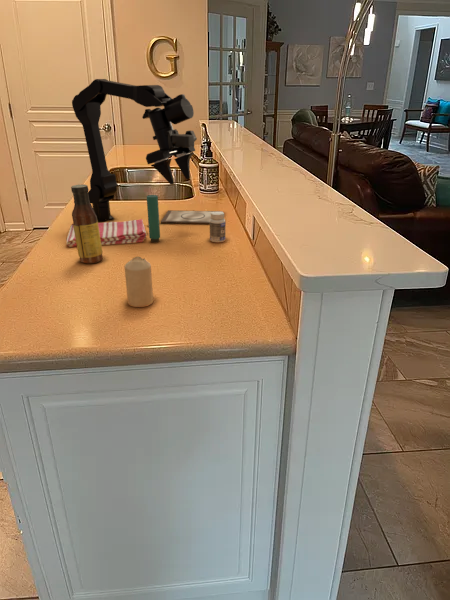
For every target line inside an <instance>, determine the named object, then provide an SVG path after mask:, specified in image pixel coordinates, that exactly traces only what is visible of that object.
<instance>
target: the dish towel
mask: <svg viewBox="0 0 450 600" xmlns="http://www.w3.org/2000/svg"><path fill="white" fill-rule="evenodd" d="M98 226H99V233H100V239H101V246H106V245H107V246H110V245H122V244H123V245H125V244H137V243H144V240H146V238H147V235H148V234H147V232H146V227H145V224H144V220H143V218H140V219H132V220H124V221H109V222H107V221H105V222H98ZM65 244H66V246H67V247H69V248H72V247H77V244H76V238H75V232H74V227H73V223H72V224H71V225H70V228H69V231H68V233H67V237H66V243H65Z"/></svg>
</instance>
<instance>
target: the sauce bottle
mask: <svg viewBox="0 0 450 600" xmlns="http://www.w3.org/2000/svg"><path fill="white" fill-rule="evenodd" d="M70 188H71V193H72V195H73V196H72V197H73V203H74V206H73V209H72V211H71V218H72V224H73V227H74V232H75V238H76V244H77V246H76V249H77V255H78V257H79V261H80V263H84V264H96V263H99V262H100V261H102V260H103V245H101V239H100V233H99V226H98V223H99V221H98V220H97V216H96V214H95V212H94V210H93V206H92V203H90V200H89V195H88V192H89V186H88V185H87V184H74V185H71V186H70Z"/></svg>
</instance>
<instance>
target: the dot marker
mask: <svg viewBox="0 0 450 600" xmlns="http://www.w3.org/2000/svg"><path fill="white" fill-rule="evenodd" d="M146 206H147V207H146V208H147V222H148V223H147V224H148V236H149V237H148V238H149V239H150V243H157V244H158V243H159V242H160V238H161V228H160V227H161V225H160V211H159V196H158V195H157V194H148V195H146Z"/></svg>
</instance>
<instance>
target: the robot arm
mask: <svg viewBox="0 0 450 600" xmlns="http://www.w3.org/2000/svg"><path fill="white" fill-rule="evenodd" d="M107 95H108V96H113V97H118V98H122V99H128V100H131V101H134V102H135V103H136V104H138V105H140V106H143V107H145V109H144V113H143V115H142V117H141V119H143V120H147V119H149V121H150V124H151V127H152V130H153V133H154V135H153V136H152V140H153V141H156V142H157V146H158V148H159V149H157V150H154V151H152V152H149V153H147V154H146V156H145V161H146V163H147V165H150V167H153V168H154V170H156V171H157V172H158V173H159V174H160V175H161V176H162V177H163V178H164V179H165V180H166V182H168V184H169V185H174V184H175V182H174V177H173V172H172V168H171V163H172V159H173V158H171V157H174V161H175V163H176V165H177V166H178V168H179V169H180V171H181V173H182V174H183V176H184V177H185V179H186V180H189V179H190V178H191V177H190V176H191V175H190V174H191V173H190V171H191V170H190V169H191V167H190V166H191V165H190V162H191V161H190V160H191V158H192V156H194V153H195V152H196V149H195V142H196V141H197V140H198V137H197V136H196V134H195V132H194V130H186V131H185V133H179V130H177V129H176V128H175V129H174V126H173V125H178V124H181V123H183V122H185V121H188V120H190V119H193V117H194V113H195V111H194V106H193V105H192V103H191V102H190V101H189V100H188V99H187V97H186V95H185V94H184V93H182V94H178V95H176V96H175V97H173V98H172V97H171V96H170V95H169V94H167V93H166V92H165V90H164V87H163V86H161V85H159V84H143V85H141V84H139V85H135V84H129V83H124V82H118V81H114V80H108V79H106V78H95V79H94V80H92V81H91V83H90V84H88V85H87V86H86V87H84V88H83V89H82V90H81V91H79V93H78V94H75V95H74V96H73V99H72V100H71V104H72V105H71V106H72V109H73V112H74V115H75V117H76V119H77V120H78V121H79V123H80V124H81V125H82V129H83V134H84V138H85V143H86V148H87V154H88V157H89V163H90V166H91V175H90V179H89V185H90V189H89V190H88V195H89V200H90V203H91V205H92V208H93V210H94V212H95V214H96V216H97V220H98V222H104V221H105V222H106V221H111V220H115V217H113V216H112V215H111V206H110V200H111V201H112V200H114V199H115V195H116V192H118V191H117V190H118V186H119V185H118V182H117V177H116V174H115V173H111V172H110V170H109V169H108V165H107V160H106V155H105V150H104V145H103V140H102V136H101V135H102V134H101V130H100V124H99V123H100V119H101V115H102V110H101V106H102V104H104V102H105V101H106V98H107ZM152 107H154V108H152ZM151 108H152V109H151Z"/></svg>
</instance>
